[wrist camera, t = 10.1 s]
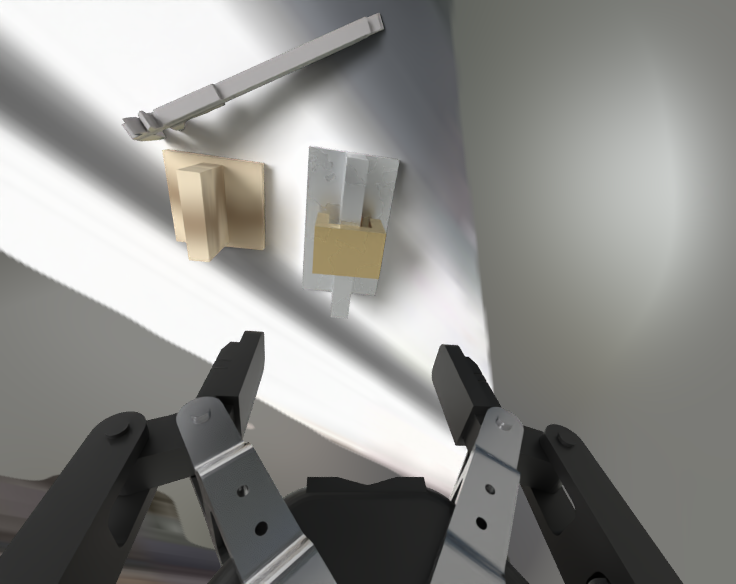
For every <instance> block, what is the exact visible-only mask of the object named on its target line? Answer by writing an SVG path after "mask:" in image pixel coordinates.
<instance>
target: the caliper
mask: <svg viewBox="0 0 736 584" xmlns="http://www.w3.org/2000/svg"><path fill="white" fill-rule="evenodd" d="M383 29H384V27H383V23H382V20H381V16H380V13H378V14H375V15H372V16H370V17H368V18H366V17H364V18H361V19H359V20H357V21H355V22H352V23H350V24H348V25H346V26H343V27H341V28H339V29H337V30H334V31H332V32H330V33H328V34H326V35H323V36H321V37H319V38H317V39H314V40H312V41H310V42H308V43H305V44H303V45H301V46H299V47H297V48H294V49H292V50H290V51H288V52H285V53H283V54H281V55H279V56H276V57H274V58H272V59H270V60H268V61H265V62H263V63H261V64H259V65H256V66H254V67H252V68H250V69H248V70H245V71H243V72H241V73H239V74H236V75H234V76H232V77H230V78H227V79H225V80H223V81H221V82H219V83H216V84H210V85H208V86H206V87H203V88H201V89H199V90H197V91H194V92H192V93H190V94H188V95H185V96H183V97H181V98H179V99H176V100H174V101H172V102H170V103H167V104H165V105H163V106H161V107H158V108H156V109H154V110H153V111H154V112H152V113H145V112H143V111H140V112H139V113H138V116H139V118H137V117H129V118H124V119H123V121H124V122H125V123H124V124H122V126H123V127H124V129H125V130H126V131H127V133H128V134H129V136H130V137H131V138H132V139H134V140H138V141H152V140H161V139H164V138H166V136H165V135H164V133H163V132H162V131H163V130H165V129H168V128H171V129H174V130H178V131H180V130H182V129H184V128H185V123H186V121H188V120H190V119H192V118H195V117H198V116H200V115H203V114H206V113H208V112H210V111H212V110H214V109H216V108H219V107H221V106H224V105H225V102H227V101H230V100H232V99H234V98H236V97H239V96H241V95H243V94H245V93H247V92H250V91H252V90H254V89H256V88H258V87H261V86H263V85H265V84H267V83H269V82H272V81H274V80H276V79H278V78H280V77H283V76H285V75H287V74H289V73H291V72H294V71H296V70H298V69H300V68H303V67H305V66H307V65H309V64H311V63H314V62H316V61H318V60H320V59H322V58H325V57H327V56H329V55H331V54H334V53H336V52H338V51H340V50H342V49H345V48H347V47H349V46H351V45H353V44H355V43H357V42H359V41H361V40H363V39H365V38H367V37H368V36H370V35H372V34H375V33H377V32H379V31H381V30H383Z"/></svg>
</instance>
